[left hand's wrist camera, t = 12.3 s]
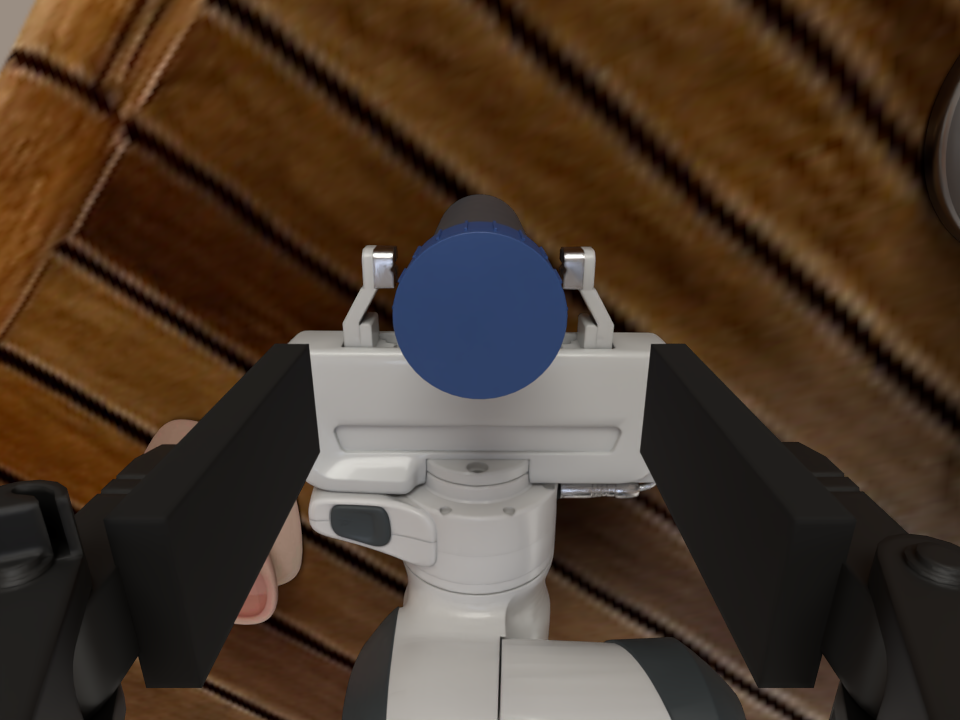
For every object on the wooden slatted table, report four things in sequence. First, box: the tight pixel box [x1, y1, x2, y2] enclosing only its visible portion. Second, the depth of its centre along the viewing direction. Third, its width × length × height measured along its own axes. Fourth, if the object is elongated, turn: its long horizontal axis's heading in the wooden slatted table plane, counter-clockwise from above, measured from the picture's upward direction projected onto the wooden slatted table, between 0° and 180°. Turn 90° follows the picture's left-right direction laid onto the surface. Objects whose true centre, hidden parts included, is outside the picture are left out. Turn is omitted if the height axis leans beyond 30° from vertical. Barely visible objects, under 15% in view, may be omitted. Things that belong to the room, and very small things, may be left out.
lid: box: [392, 220, 568, 399], centre depth 21 cm, size 6×6×2 cm
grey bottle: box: [434, 195, 526, 235], centre depth 28 cm, size 5×5×16 cm
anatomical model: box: [144, 419, 302, 625], centre depth 40 cm, size 13×4×12 cm
